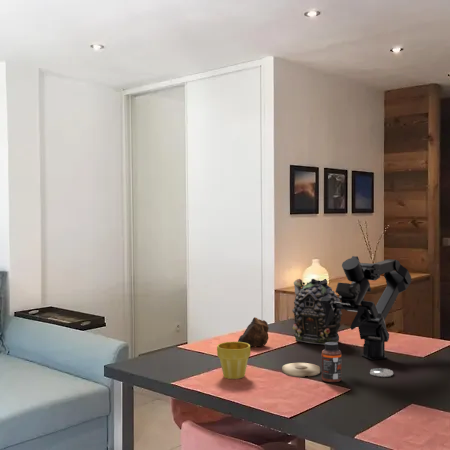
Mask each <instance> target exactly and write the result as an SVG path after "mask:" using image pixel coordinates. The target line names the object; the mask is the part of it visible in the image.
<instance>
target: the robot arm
mask: <svg viewBox="0 0 450 450" xmlns="http://www.w3.org/2000/svg"><path fill="white" fill-rule="evenodd" d="M341 267H342V270H343V272H344V274H345V277H346V279H347V281H349V282H351V283H349V282H337V285H336V288H335V290H334V291H335V294H337V295H338V298H339V299H340V302H335V300H334V298H332V297H322V298H321V300H320V303H321V306H322V308H323V310H324V312H325V313H326V314H325V326H327V325H328V324H329V323H330V322H331V321H332V319H333V318H334V317H335V313H336V312H337V310H338V309H342V310H345V311H347V312H355V313H356V314H355V317H354V319H352V323H350V329H351V330H354V329H356V328H357V327H358V332H359V337H360V340H363V341H364V343H363V345H362V346H363V347H362V349H363V354H361V356H362V357H364V358H365V359H366V358H367V359H369V360H371V361H375V360H383V359H384V360H385V359H388V356H386V355H385V353H386V352H385V351H386V349H385V347H386V345H385V343H388V341H389V340H390V332H389V331H388V330H387V325H386V321H385V320H386V318H387V316H388V314H389V313H390V311H391V309H392V307H393V305H394V304H395V302H396V300H397V298H398V296H399V294H401V293H402V292H404V291H406V290H407V289H408V287H410V285H411V283H412V276H411V273H410V272H409V270H408V269H407V268H406V267H405V266H403V265H402V264H401V262H400V261H399V260H397V259H387V258H386V259H384V260H381V261H378V262H374V263H366V262H360V259H359V257H358V256H357V255H356V256H355V255H352V256H351V257H350V258H348V259H346V260H344V261H343V262H342V263H341ZM381 275H383V277H384V279H385V284H386V287H385V289H384V290H383V292H382V294H381V296H380V297H379V299H378V301H377V303H375V302H374V301H368V300H365V296H366V294H367V293H368V292H372V288H371V283H370V281H377V280H379V279H380V278H381Z"/></svg>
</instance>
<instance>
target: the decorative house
mask: <svg viewBox="0 0 450 450" xmlns="http://www.w3.org/2000/svg"><path fill="white" fill-rule="evenodd" d="M293 285H294V294H295V296H294V297H295V299H294V301H293V304H294V307H293V309H292V310H291V312H292V313H293V316H294V317H293V318H294V320H293V326H292V327H291V328H292V329H293V330H294V333H293V336H294V338H295V340H296V341H298V342H303V343H308V344H316V345H324V346H325V343H326V342H336V343H338V342H339V341H340V335H339V333H338V332H339V330H340V329H339V328H340V327H341V321H342V318H341V317H342V316H343V313H342V310H343V309H338V310H337V312H336V313H335V317H334V318H333V319H332V321H331V322H330V323H329V324H328V325H327V326H325V314H326V313H325V312H324V310H323V308H322V306H321V303H320V300H321V298H322V297H332V298H334V300H335V302H341V300H340V299H339V296H338V294H337V293H336V292H335V291H336V290H333V288H332V287H331V286H329V285H328V280H327V278H324V279H323V280H319V278H318V279H315V278H311V280H310V281H309V282H306V283H305V282H304V281H303V280H302V279H301V278H296V279H295V280H294V281H293Z"/></svg>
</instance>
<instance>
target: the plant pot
mask: <svg viewBox="0 0 450 450" xmlns="http://www.w3.org/2000/svg"><path fill="white" fill-rule="evenodd" d="M216 351H217V352H216V353H217V358H219V361H220V366H221V371H222V376H223V378H225V379H229V380H240V379H243V378H244V377H245V376H246V370H247V366H248V361H249V358H250V356H251V346H250V345H249V344H248V343H244V342H238V341H226V342H225V341H224V342H221V343H219V344H217V345H216Z"/></svg>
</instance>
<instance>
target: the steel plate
mask: <svg viewBox="0 0 450 450" xmlns="http://www.w3.org/2000/svg"><path fill="white" fill-rule="evenodd" d="M369 374H370V375H372V376H374V377H380V378H389V377H390V378H391V377H392V376H394V371H393V370H391V369H389V368H382V367H379V368H378V367H377V368H371V369H370V370H369Z"/></svg>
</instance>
